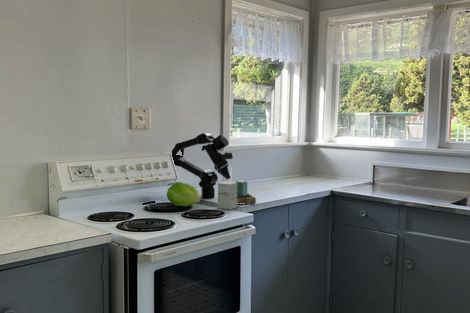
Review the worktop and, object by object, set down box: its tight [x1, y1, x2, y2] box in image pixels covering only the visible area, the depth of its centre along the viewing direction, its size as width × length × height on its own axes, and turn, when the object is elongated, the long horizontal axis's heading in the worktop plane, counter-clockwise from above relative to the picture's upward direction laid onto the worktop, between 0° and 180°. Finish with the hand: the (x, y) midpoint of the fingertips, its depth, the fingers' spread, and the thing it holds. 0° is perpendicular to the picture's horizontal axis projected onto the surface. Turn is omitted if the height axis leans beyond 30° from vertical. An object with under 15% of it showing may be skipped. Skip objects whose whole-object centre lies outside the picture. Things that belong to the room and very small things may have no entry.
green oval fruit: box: [166, 181, 202, 207], centre depth 232 cm, size 14×20×12 cm
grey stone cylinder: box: [217, 180, 238, 210], centre depth 231 cm, size 7×7×13 cm
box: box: [237, 192, 257, 204], centre depth 246 cm, size 13×13×3 cm
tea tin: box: [236, 180, 248, 198], centre depth 245 cm, size 4×4×10 cm
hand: (228, 178), depth 253 cm, fingers open, 9 cm apart
